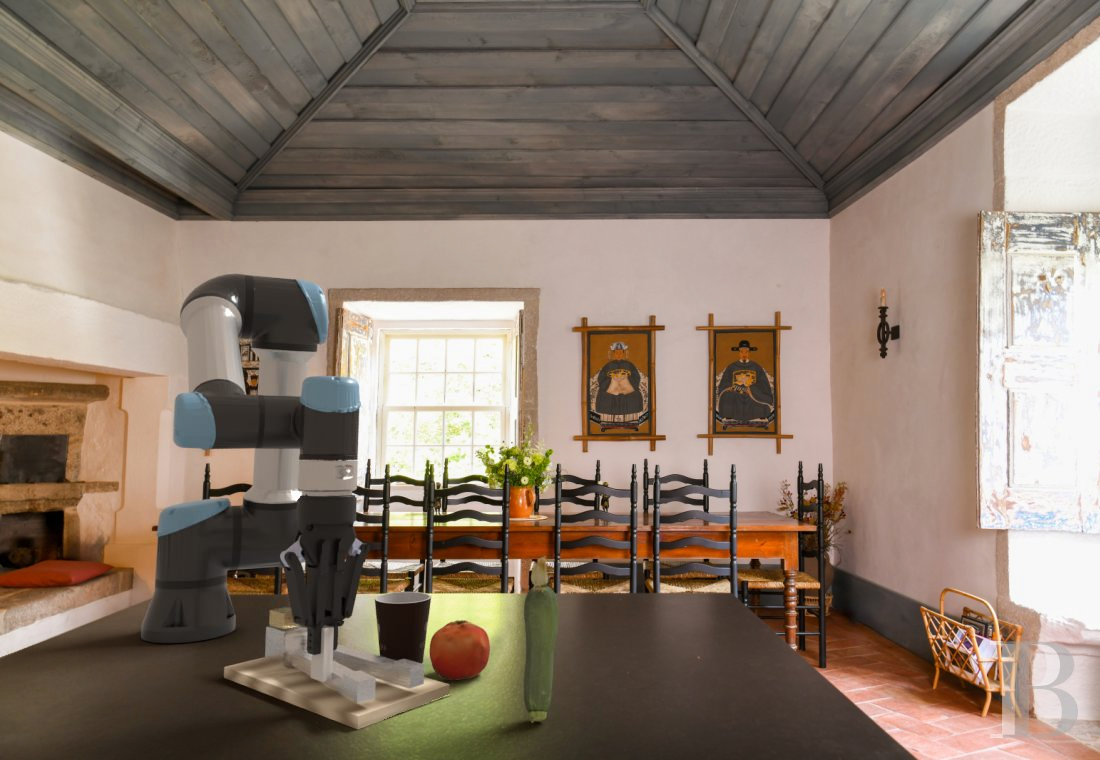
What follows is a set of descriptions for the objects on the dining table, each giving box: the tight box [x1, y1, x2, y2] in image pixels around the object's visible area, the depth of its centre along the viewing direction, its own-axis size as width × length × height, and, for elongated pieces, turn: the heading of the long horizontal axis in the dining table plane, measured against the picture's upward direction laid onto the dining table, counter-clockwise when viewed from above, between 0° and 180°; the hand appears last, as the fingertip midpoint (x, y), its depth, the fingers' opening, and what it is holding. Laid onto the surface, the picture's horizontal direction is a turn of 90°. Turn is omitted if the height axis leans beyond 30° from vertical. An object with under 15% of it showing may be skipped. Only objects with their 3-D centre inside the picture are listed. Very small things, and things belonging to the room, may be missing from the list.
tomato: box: [429, 619, 491, 681], centre depth 108 cm, size 9×9×8 cm
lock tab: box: [268, 606, 301, 629], centre depth 112 cm, size 4×3×2 cm
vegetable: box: [523, 555, 560, 724], centre depth 92 cm, size 4×4×20 cm
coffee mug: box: [374, 591, 432, 664], centre depth 116 cm, size 12×9×10 cm
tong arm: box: [292, 648, 376, 703], centre depth 98 cm, size 20×2×2 cm, turn 41°
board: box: [223, 656, 451, 730], centre depth 103 cm, size 31×15×2 cm, turn 52°
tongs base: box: [264, 625, 425, 689], centre depth 104 cm, size 30×5×4 cm, turn 52°
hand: (321, 678), depth 95 cm, fingers closed
